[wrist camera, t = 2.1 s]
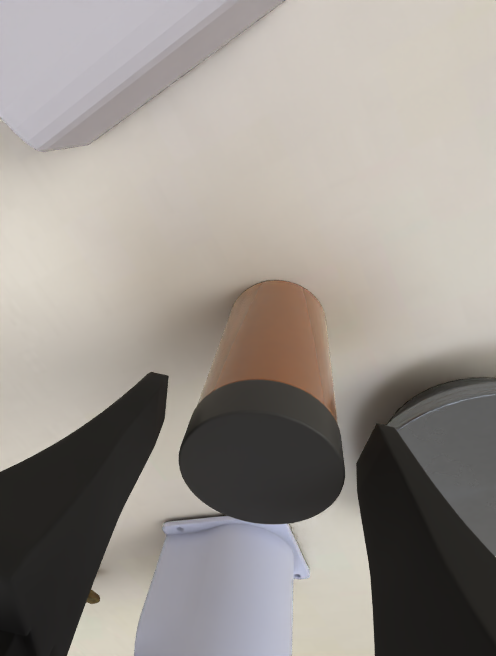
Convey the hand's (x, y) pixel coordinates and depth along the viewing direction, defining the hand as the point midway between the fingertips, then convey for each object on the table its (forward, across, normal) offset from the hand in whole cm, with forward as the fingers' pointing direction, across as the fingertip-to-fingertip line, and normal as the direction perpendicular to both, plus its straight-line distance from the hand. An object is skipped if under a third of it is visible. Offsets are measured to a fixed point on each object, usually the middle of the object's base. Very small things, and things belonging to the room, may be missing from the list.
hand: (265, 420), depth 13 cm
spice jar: (+7, 0, 0) cm, 7 cm away
